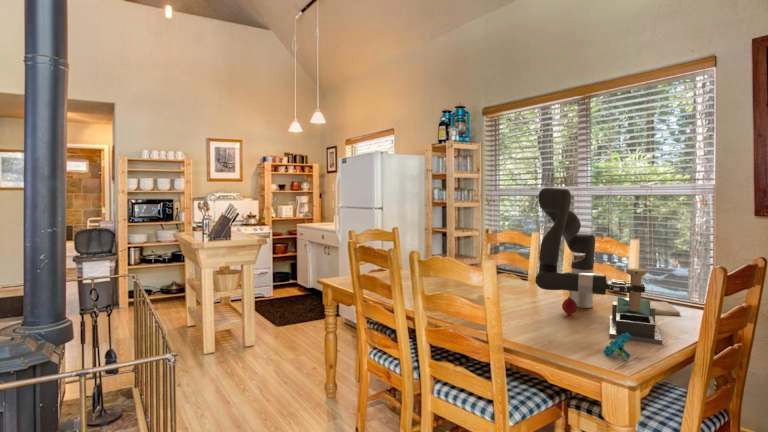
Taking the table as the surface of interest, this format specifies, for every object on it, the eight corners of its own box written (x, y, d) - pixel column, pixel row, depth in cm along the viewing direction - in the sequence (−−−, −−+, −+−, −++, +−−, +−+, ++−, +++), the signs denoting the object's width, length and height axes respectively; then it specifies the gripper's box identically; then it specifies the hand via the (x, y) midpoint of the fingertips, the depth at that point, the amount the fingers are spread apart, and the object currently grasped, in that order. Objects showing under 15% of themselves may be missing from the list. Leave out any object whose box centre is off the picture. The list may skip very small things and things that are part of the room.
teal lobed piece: (603, 343, 150) (628, 326, 145) (617, 357, 149) (642, 340, 144) (600, 358, 141) (626, 340, 136) (615, 373, 139) (642, 356, 135)
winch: (609, 337, 161) (610, 309, 161) (610, 318, 186) (610, 294, 186) (661, 344, 154) (662, 315, 153) (655, 323, 179) (656, 298, 178)
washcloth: (666, 307, 206) (666, 300, 206) (681, 317, 189) (681, 310, 189) (637, 305, 209) (637, 298, 209) (649, 315, 192) (650, 308, 192)
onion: (576, 314, 192) (576, 295, 192) (577, 317, 187) (577, 298, 187) (561, 313, 194) (562, 294, 194) (562, 316, 189) (562, 297, 189)
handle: (645, 313, 161) (646, 271, 160) (624, 311, 164) (626, 269, 163) (644, 310, 165) (646, 269, 164) (624, 308, 168) (626, 268, 167)
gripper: (591, 276, 164) (646, 281, 156) (593, 270, 176) (644, 274, 169) (590, 297, 164) (645, 302, 156) (592, 289, 177) (643, 294, 169)
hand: (644, 288), depth 162 cm, fingers closed on handle, 3 cm apart
